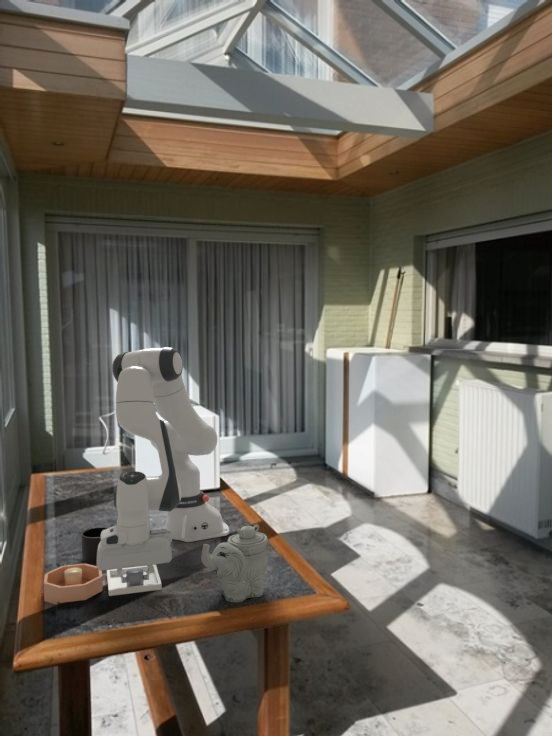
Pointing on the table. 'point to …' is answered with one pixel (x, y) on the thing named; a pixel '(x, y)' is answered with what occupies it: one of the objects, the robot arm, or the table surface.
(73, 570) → the sand pebble
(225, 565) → the teapot
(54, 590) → the bowl
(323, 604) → the table surface
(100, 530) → the mug
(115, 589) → the tray
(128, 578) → the slate pebble
